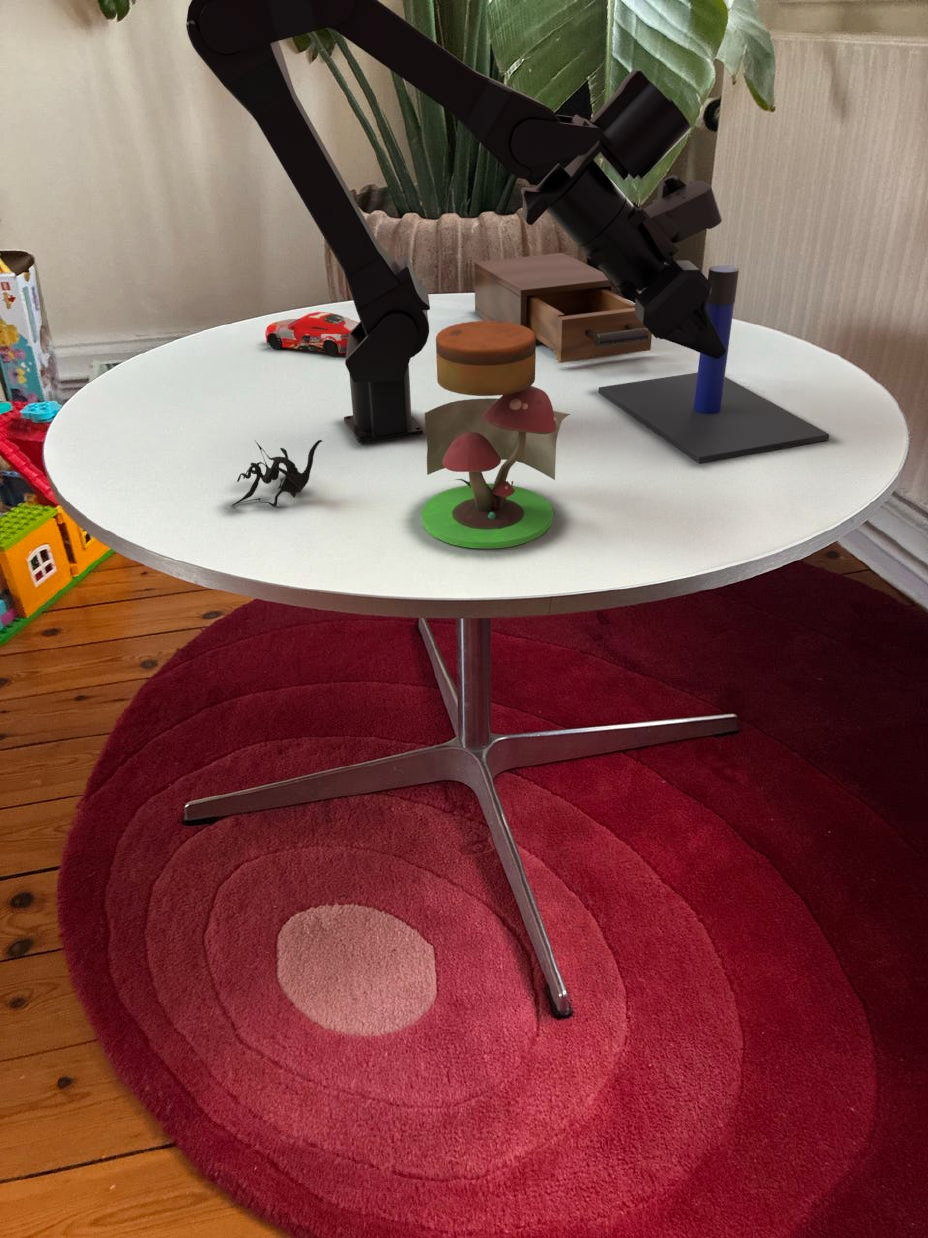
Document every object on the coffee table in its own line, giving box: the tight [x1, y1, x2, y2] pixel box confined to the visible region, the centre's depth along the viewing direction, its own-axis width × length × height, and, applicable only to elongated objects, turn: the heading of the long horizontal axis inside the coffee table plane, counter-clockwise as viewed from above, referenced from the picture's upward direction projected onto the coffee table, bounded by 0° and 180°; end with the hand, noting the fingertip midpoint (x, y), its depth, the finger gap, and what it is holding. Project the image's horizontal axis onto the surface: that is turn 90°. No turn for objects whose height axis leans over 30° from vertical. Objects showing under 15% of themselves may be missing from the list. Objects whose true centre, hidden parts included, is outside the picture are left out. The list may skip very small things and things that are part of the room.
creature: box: [230, 439, 324, 508], centre depth 82 cm, size 8×5×8 cm
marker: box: [694, 265, 740, 414], centre depth 93 cm, size 3×3×14 cm
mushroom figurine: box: [421, 320, 571, 549], centre depth 75 cm, size 12×13×15 cm
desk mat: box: [597, 372, 830, 464], centre depth 97 cm, size 20×14×1 cm
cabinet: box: [473, 252, 617, 345], centre depth 123 cm, size 16×13×7 cm
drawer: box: [526, 287, 653, 364], centre depth 113 cm, size 18×11×5 cm, turn 20°
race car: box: [264, 311, 360, 357], centre depth 117 cm, size 13×5×4 cm, turn 65°
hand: (708, 340), depth 93 cm, fingers open, 9 cm apart
